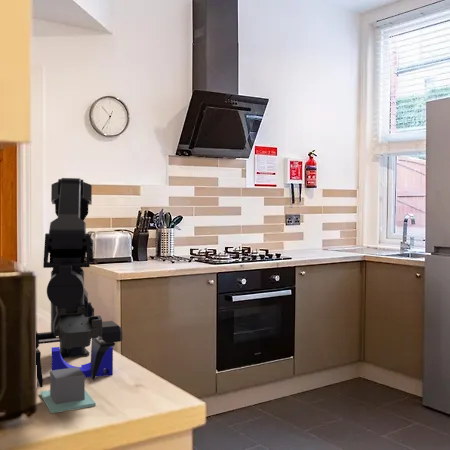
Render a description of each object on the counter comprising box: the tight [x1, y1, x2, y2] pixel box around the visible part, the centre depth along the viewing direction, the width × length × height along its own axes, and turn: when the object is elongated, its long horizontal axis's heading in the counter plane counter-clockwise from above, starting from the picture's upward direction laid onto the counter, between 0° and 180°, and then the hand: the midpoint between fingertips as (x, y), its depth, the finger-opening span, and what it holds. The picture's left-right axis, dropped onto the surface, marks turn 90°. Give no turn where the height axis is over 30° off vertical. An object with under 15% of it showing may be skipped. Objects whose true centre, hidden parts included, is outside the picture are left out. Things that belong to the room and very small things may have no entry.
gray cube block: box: [49, 366, 86, 404], centre depth 99 cm, size 5×5×4 cm
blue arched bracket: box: [51, 346, 114, 378], centre depth 114 cm, size 12×4×6 cm, turn 108°
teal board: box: [40, 389, 97, 414], centre depth 99 cm, size 10×8×1 cm
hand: (67, 383), depth 99 cm, fingers open, 9 cm apart
